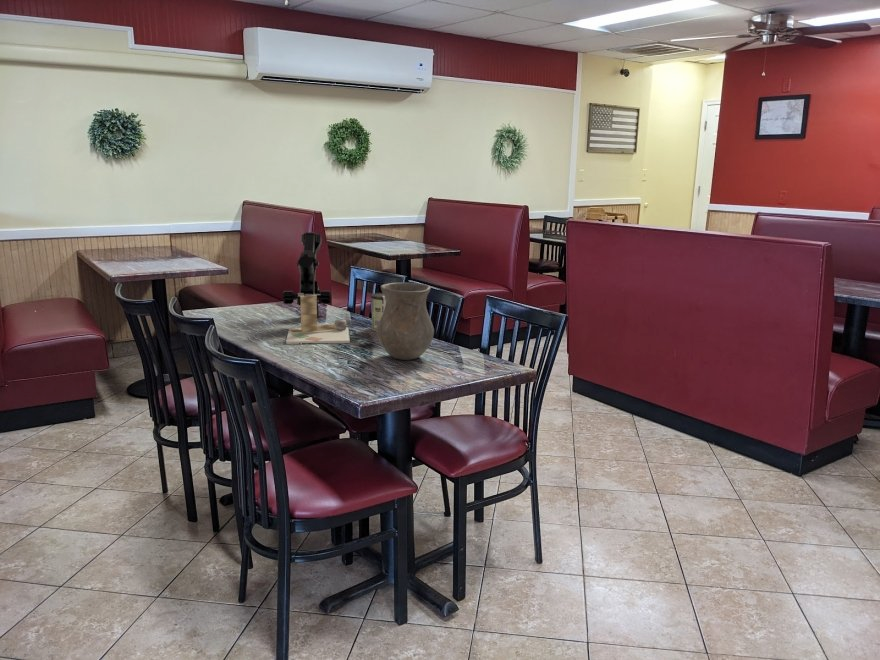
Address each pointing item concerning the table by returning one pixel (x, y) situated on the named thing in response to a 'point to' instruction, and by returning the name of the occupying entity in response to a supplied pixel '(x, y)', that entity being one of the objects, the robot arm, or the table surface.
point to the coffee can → (376, 309)
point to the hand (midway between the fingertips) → (306, 315)
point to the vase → (405, 320)
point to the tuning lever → (314, 317)
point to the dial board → (318, 336)
